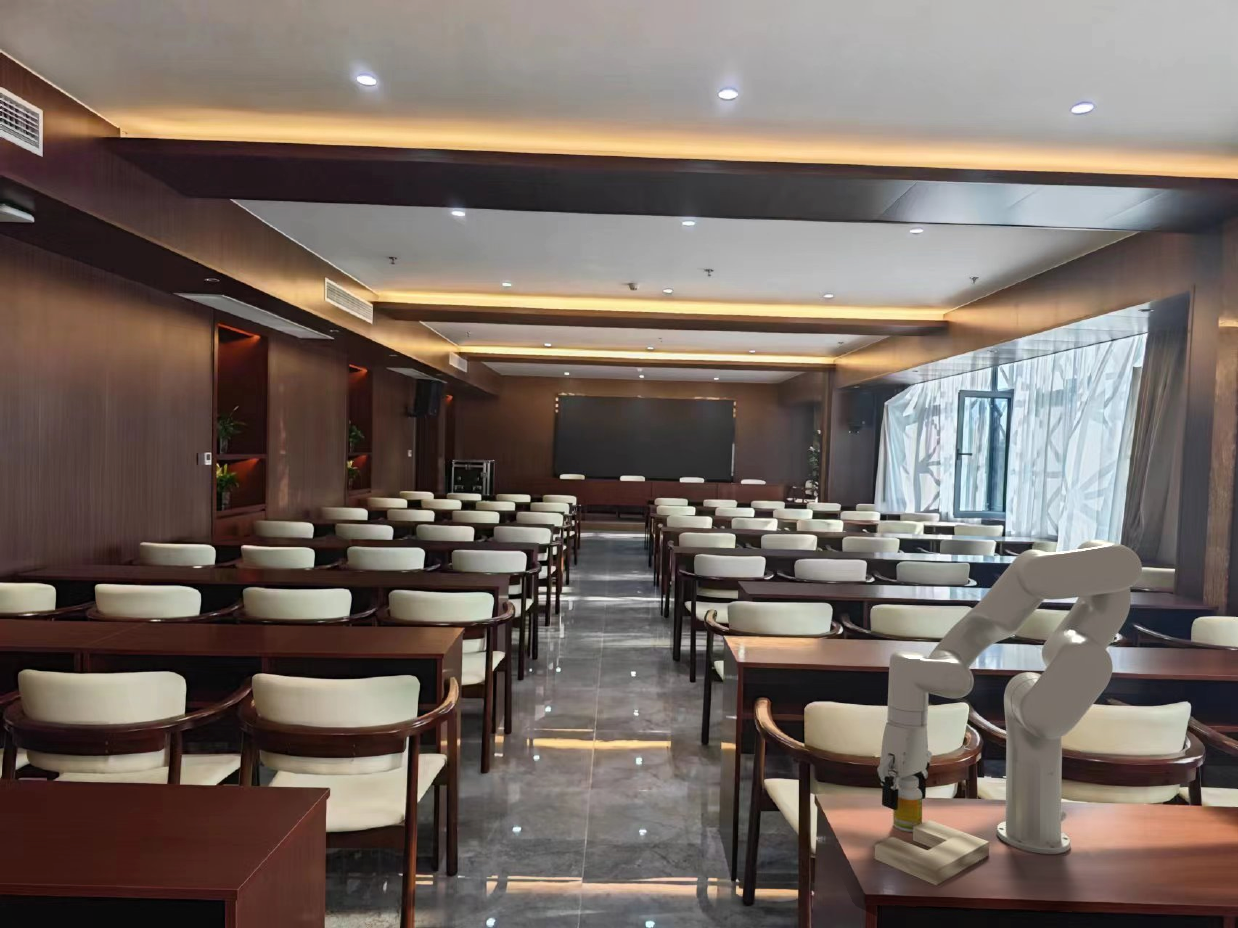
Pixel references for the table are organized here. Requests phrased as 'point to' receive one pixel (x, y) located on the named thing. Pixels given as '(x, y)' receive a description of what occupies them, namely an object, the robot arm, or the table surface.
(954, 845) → the notched board
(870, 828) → the table surface
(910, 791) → the supplement bottle
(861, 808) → the table surface
